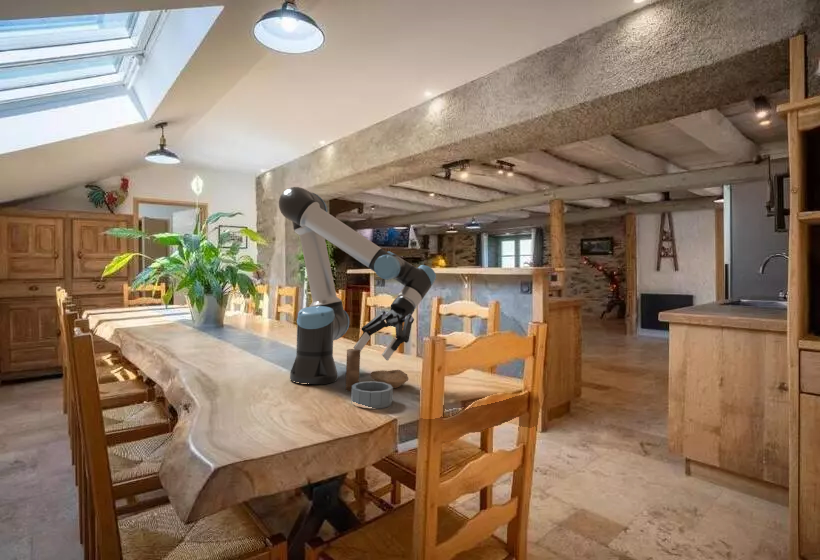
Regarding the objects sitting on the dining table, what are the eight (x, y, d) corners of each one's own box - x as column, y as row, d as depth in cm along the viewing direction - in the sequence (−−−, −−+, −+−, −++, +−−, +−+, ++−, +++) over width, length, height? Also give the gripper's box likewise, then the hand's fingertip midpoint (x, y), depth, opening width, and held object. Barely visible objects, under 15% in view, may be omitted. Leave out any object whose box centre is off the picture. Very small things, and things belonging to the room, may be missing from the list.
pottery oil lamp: (376, 378, 144) (387, 360, 145) (403, 397, 138) (414, 378, 139) (363, 374, 137) (374, 355, 137) (391, 394, 130) (403, 373, 131)
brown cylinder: (343, 390, 130) (344, 350, 130) (348, 387, 134) (350, 348, 134) (355, 392, 129) (357, 352, 129) (360, 388, 133) (362, 349, 133)
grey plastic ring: (345, 406, 115) (345, 389, 115) (360, 395, 126) (361, 379, 126) (384, 411, 113) (384, 394, 112) (396, 399, 123) (397, 383, 123)
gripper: (439, 314, 138) (404, 368, 128) (386, 307, 155) (351, 354, 145) (428, 298, 134) (391, 353, 124) (375, 293, 151) (339, 340, 141)
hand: (370, 354), depth 134 cm, fingers open, 13 cm apart
